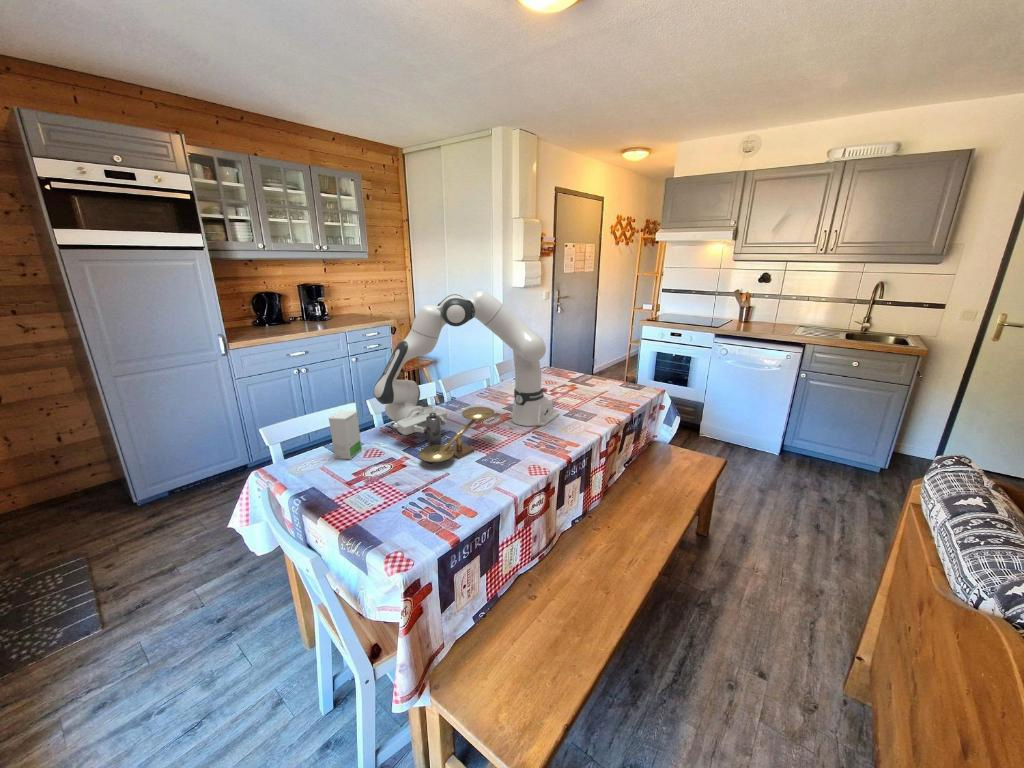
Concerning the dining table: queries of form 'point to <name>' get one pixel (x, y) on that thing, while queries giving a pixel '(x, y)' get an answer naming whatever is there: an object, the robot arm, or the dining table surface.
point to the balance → (456, 439)
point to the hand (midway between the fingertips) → (434, 426)
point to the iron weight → (433, 429)
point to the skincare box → (345, 434)
